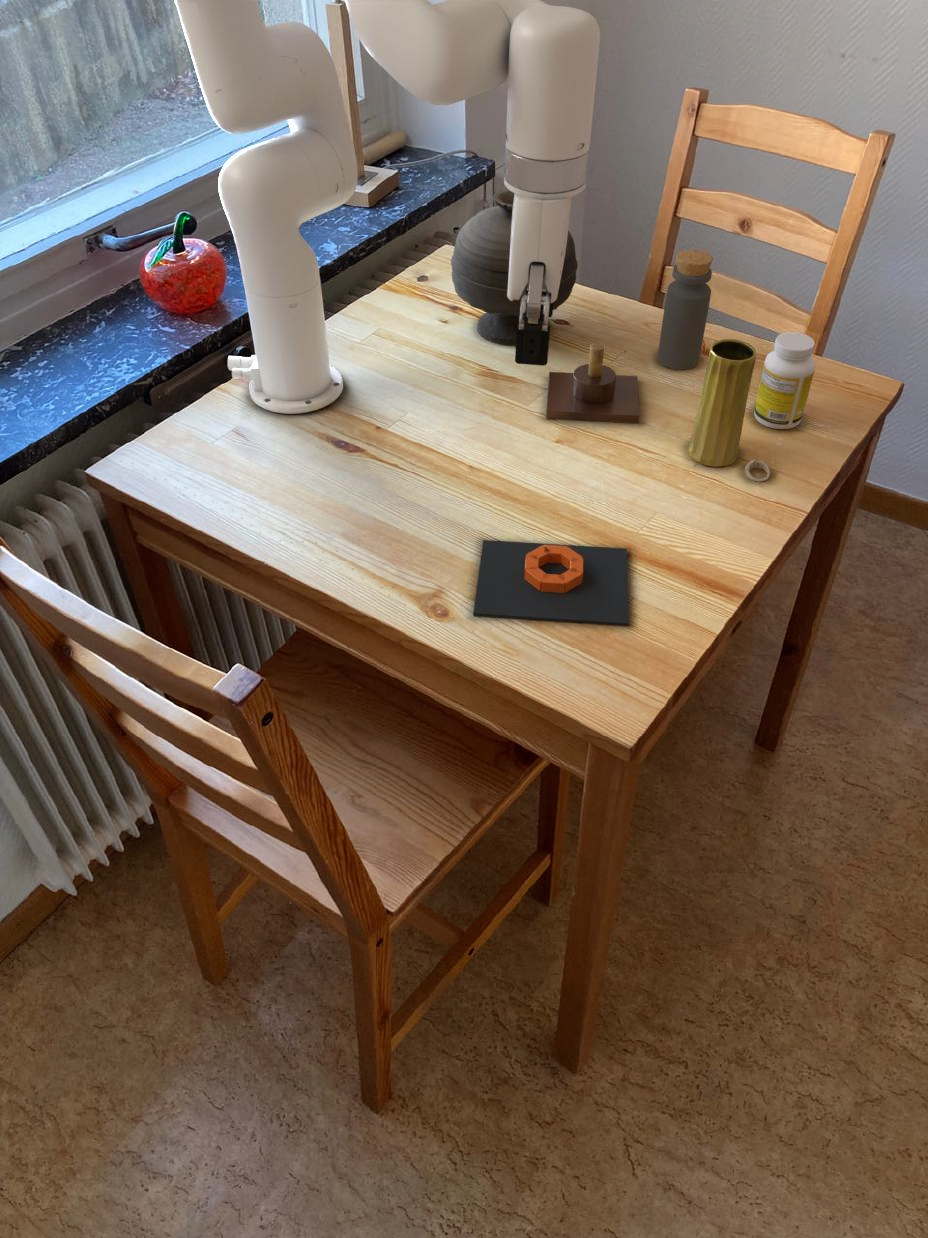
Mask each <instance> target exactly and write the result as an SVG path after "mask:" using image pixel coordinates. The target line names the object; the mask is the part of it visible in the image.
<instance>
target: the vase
mask: <svg viewBox="0 0 928 1238" xmlns="http://www.w3.org/2000/svg"><path fill="white" fill-rule="evenodd" d="M709 347H710V348H709V352H708V353H709V354H708V359H707V366H706V371H705V375H704V379H703V384H702V390H701V395H700V400H699V405H698V409H697V413H696V415H695V416H696V417H695V420H694V423H693V428H692V433H691V438H690V442H689V444H688V447H687V452H688V455H689V456H690V458H691V459H692V460H694V461H695V462H696V463H698V464H700V465H704V466H707V467H714V468H720V467H721V468H722V467H727V466H729V465H732V464H733V463H734V462H735V461H736V460H738V457H739V450H740V443H741V437H742V431H743V426H744V421H745V420H744V419H745V414H746V410H747V409H746V408H747V403H748V397H749V394H750V393H749V392H750V387H751V384H752V378H753V373H754V368H755V364H756V359H757V350H756V347H754V346H753V345H751V344H750V343H748V342H746V341H743V340H740V339H734V338H724V339H720V340H717V341H715V342H713V343H712V344H711V345H710V346H709Z"/></svg>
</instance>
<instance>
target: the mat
mask: <svg viewBox="0 0 928 1238" xmlns="http://www.w3.org/2000/svg"><path fill="white" fill-rule="evenodd" d="M542 545H558V546H566V547H569V548H570V549H572V550H573V551H575V552H576V553H577V554H579V555H580V556H582V557H583V559H584V560H583V580H582V582H581V584H579V585H578V586H576V587H574V588H573V589H571V590H569V591H568V592H566V593H565V592H564V593H554V592H542V591H539V590H538V589H537V588H535V587H534V586H533V585H531V584H530V583H529V582H527V581H526V580H525V579H524V575H525V561H526V555H527V554H528V553H529V552H531V551H533V550H535V549H537V548H538V547H540V546H542ZM479 560H480V561H479V568H478V575H477V582H476V583H477V584H476V590H475V599H474V606H473V613H472V616H473V617H483V618H484V617H486V618H499V619H500V618H501V619H518V620H529V621H530V620H532V621H544V622H545V621H546V622H562V623H577V624H591V625H593V624H595V625H609V626H621V627H622V626H623V627H629V626H630V615H629V613H630V612H629V577H628V576H629V575H628V573H629V572H628V549H627V548H624V547H606V546H590V545H573V544H558V543H541V542H527V541H526V542H523V541H509V540H508V541H506V540H505V541H504V540H492V539H491V540H489V539H483V540H482V546H481V554H480V559H479ZM539 568H540V569H541V570H542V571H544V572H545V573H546V574H555V575H561V574H563V573H565V572H566V571H568V570H569V569H568V568H566V567H565V566H564V565H562V564H561V563H546V564H544V565H543V566H541V567H539Z"/></svg>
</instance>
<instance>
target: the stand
mask: <svg viewBox="0 0 928 1238" xmlns="http://www.w3.org/2000/svg"><path fill="white" fill-rule="evenodd" d="M605 348H606V347H605V345H604V344H603V343H598V342H595V343H593V344H590V346H589V357H588V358H589V359H588V363H586V364H582V365H579V366H577V367H576V368H575V369H574V370H573V372H563V371H561V372H560V371H549V372H548V382H547V383H548V385H547V397H546V398H547V400H546V409H545V410H546V411H545V414H546V415H545V419H547V420H565V421H581V422H582V421H583V422H585V421H586V422H602V423H603V422H605V423H624V424H639V422H640V400H639V399H640V398H639V378H638V377H639V376H638V375H625V374H623V375H622V374H617V373H616V371H615V370H614V369H613V368H612V367H609V366H607V365H605V364H604V357H605Z"/></svg>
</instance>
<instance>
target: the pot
mask: <svg viewBox="0 0 928 1238" xmlns="http://www.w3.org/2000/svg"><path fill="white" fill-rule="evenodd" d="M514 194H515V193H513V192H511V191H510V190H509V189H507V188H503V189H500V190H497V191H496V192H495V193H494V194H493V197H492V201H493V203H494V204H495V206H492V207H487V208H485V209H481V210H480V211H478V212H477V213H476V214H475V215H473V216H472V217H471V218H469V220H468V221H466V223H465V224H464V225H463V226H462V227H461V229H460V231H459V232H458V233H457V236H456V240H455V242H454V248H453V255H452V256H451V259H450V265H451V280H452V283H453V288H454V291H455V293H456V294H457V296H458V297H459V298H460V299H461V300H462V301H464V302H466V303H467V304H469V306H471V308H475V309H478V310H482V311H483V312H484V313H483V314H482V315H481V316H480V317H479V319H478V321H477V325H476V332H477V333H478V335H479V336H480V337H481V338H483V339H485V340H486V341H490V342H492V343H495V344H500V345H506V346H509V345H510V346H516V333H517V324H519V319H520V308H521V297H520V299H519V300H514V299H513V301H510V300H509V298H508V297H507V291H508V276H509V259H510V241H511V224H512V211H513V202H514ZM576 253H577V252H576V246H575V241H574V238H573V235H572V234H571V232H570V230H569V229H568V237H567V245H566V252H565V258H564V264H563V270H562V275H561V280H560V285H559V290H558V295H557V300H555V301H554V303H553V311H555V310H557V309H558V308H559V307H560V306H561V305H563V304H564V303H565V302H567V300H569V298H570V296H571V294H572V292H573V288H574V286H575V284H576V281H577V270H578V267H579V265H578V260H577V254H576ZM521 296H522V295H521ZM542 322H543V321H542Z"/></svg>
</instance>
